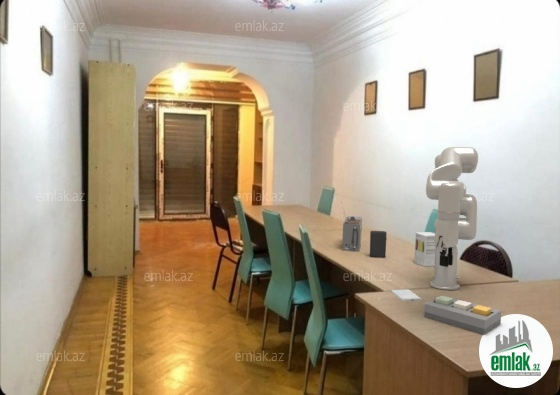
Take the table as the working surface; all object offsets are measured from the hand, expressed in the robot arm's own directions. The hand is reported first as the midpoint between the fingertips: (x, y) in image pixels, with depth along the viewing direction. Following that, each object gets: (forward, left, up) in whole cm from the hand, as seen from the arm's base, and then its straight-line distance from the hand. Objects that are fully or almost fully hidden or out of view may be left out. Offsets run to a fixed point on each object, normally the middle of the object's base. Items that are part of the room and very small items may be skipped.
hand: (445, 265), depth 168 cm
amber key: (0, +14, -15) cm, 21 cm away
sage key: (0, 0, -15) cm, 15 cm away
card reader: (-60, -70, -19) cm, 94 cm away
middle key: (0, +7, -15) cm, 17 cm away
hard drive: (-9, -21, -20) cm, 30 cm away
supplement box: (-66, -43, -19) cm, 81 cm away
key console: (0, +7, -19) cm, 20 cm away
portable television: (-69, -96, -19) cm, 120 cm away
